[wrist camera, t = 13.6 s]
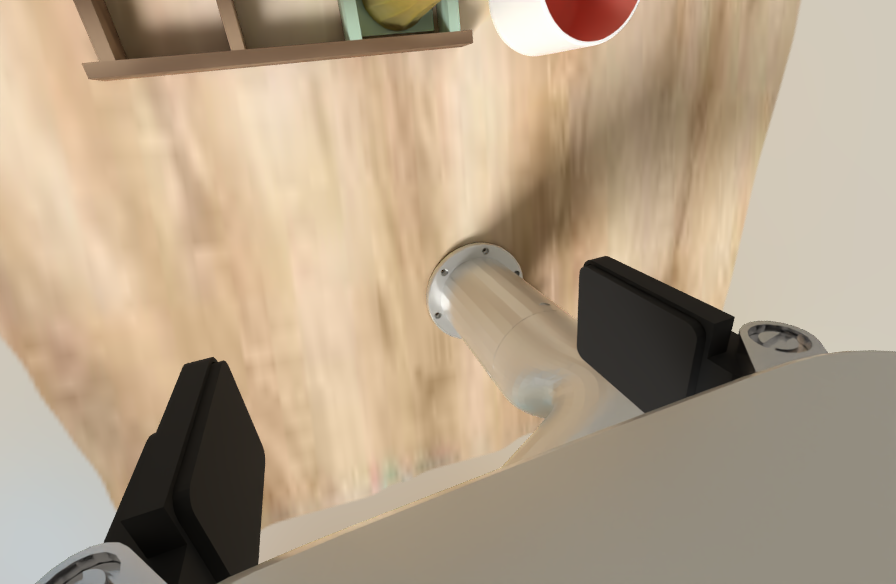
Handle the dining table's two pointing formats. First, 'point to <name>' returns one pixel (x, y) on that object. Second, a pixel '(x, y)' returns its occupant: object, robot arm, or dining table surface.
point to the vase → (398, 12)
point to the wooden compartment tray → (354, 28)
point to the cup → (558, 23)
